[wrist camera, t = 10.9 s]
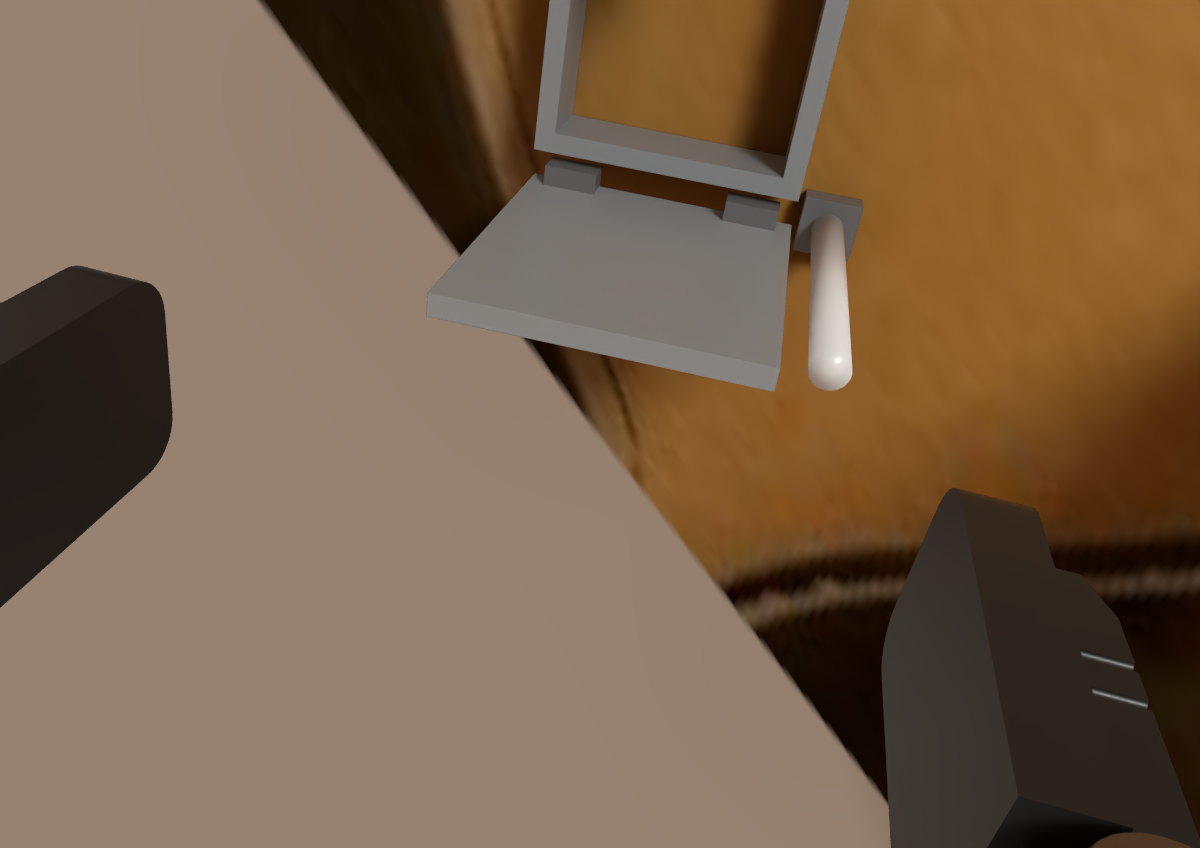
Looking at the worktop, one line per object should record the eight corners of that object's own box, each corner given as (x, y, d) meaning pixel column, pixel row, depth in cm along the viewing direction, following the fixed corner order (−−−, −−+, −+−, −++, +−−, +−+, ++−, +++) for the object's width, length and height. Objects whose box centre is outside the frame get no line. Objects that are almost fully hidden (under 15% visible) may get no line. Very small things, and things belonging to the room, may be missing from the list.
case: (947, -96, 27) (1024, -67, 17) (847, 252, 33) (859, 434, 22) (585, -158, 28) (451, -164, 18) (545, 191, 33) (425, 338, 23)
